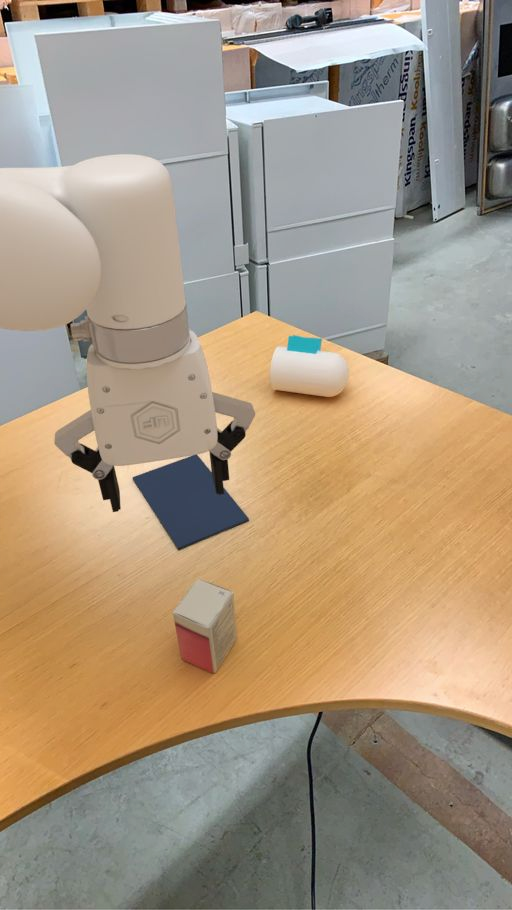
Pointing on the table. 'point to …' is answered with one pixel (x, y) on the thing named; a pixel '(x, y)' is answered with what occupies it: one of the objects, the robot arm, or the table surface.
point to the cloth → (188, 501)
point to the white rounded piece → (308, 368)
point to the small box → (205, 625)
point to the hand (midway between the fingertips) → (167, 493)
